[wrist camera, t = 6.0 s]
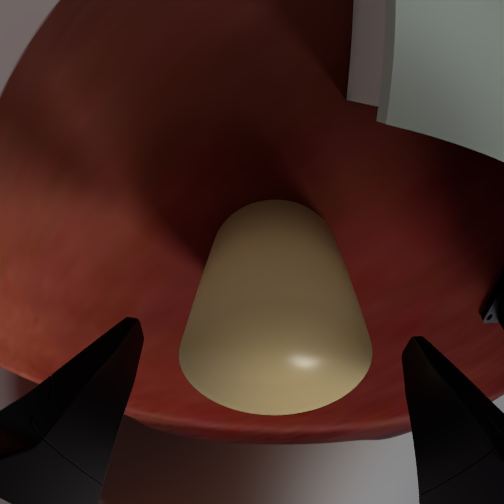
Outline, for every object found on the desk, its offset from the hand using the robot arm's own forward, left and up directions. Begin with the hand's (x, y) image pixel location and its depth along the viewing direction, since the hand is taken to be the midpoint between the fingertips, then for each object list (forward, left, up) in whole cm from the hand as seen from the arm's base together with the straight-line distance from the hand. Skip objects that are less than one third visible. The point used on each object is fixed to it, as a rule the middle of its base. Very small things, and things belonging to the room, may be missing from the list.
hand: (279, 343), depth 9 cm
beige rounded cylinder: (0, 0, -5) cm, 5 cm away
